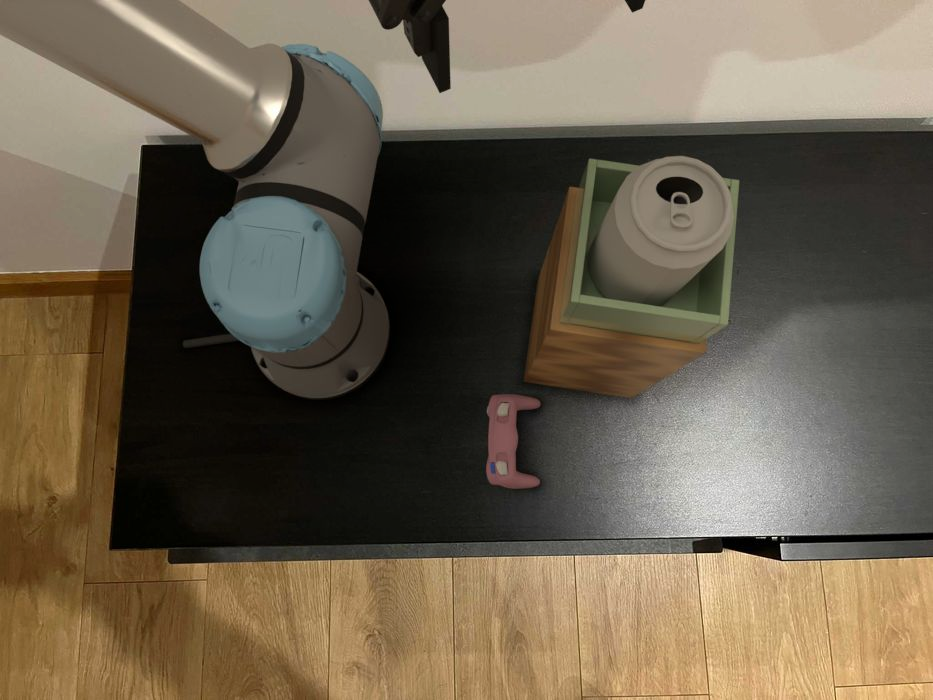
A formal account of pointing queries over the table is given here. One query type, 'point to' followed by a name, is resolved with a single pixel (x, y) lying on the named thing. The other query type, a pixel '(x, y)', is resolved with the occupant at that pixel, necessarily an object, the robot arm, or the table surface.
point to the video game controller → (507, 441)
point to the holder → (678, 319)
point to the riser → (592, 338)
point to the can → (661, 230)
